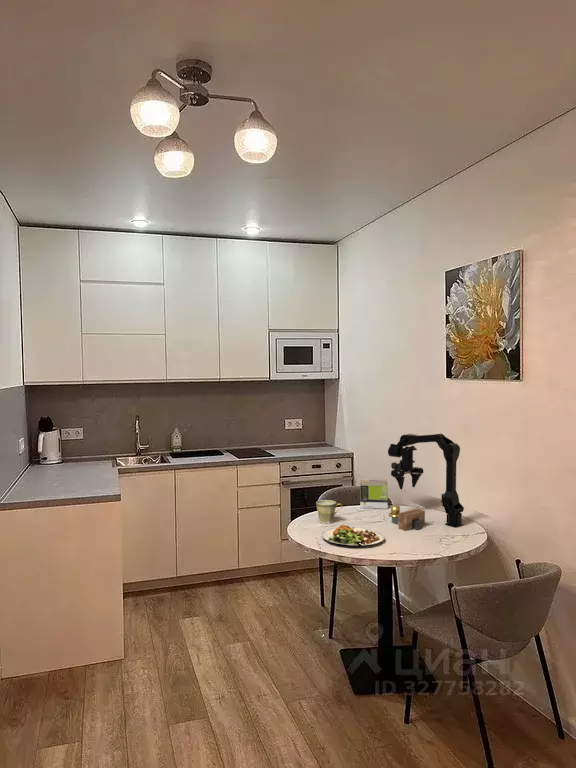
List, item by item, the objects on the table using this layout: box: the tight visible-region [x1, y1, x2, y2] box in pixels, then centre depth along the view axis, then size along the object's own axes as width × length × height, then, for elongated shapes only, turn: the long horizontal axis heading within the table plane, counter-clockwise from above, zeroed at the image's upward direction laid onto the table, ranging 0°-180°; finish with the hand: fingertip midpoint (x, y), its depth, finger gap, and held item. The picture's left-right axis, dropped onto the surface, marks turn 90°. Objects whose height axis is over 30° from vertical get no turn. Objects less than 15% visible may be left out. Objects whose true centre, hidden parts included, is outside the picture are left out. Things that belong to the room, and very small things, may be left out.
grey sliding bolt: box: [388, 504, 422, 530], centre depth 277 cm, size 18×6×8 cm, turn 36°
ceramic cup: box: [315, 499, 343, 525], centre depth 283 cm, size 13×10×10 cm
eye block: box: [397, 508, 426, 531], centre depth 273 cm, size 5×13×8 cm, turn 126°
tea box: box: [359, 478, 389, 510], centre depth 315 cm, size 15×10×15 cm
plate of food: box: [321, 524, 386, 546], centre depth 254 cm, size 28×28×6 cm
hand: (407, 488), depth 296 cm, fingers open, 9 cm apart
